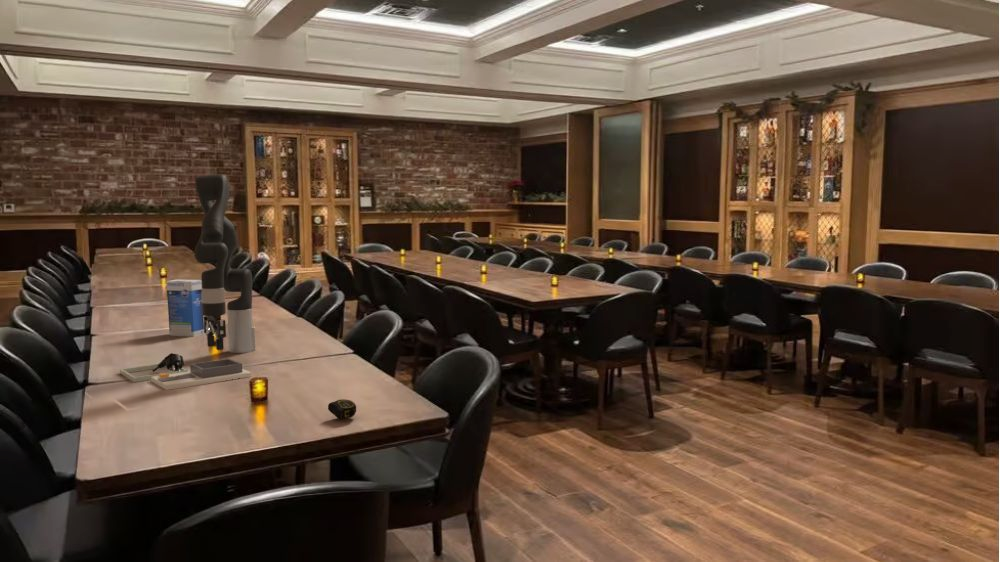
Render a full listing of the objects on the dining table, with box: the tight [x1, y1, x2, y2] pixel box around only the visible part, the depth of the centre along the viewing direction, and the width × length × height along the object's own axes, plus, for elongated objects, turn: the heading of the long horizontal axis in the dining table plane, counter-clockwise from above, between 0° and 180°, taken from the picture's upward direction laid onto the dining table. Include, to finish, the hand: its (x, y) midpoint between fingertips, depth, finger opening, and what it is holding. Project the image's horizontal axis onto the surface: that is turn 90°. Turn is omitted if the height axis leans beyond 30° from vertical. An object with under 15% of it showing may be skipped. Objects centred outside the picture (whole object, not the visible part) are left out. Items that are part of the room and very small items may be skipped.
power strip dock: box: [150, 358, 252, 391], centre depth 250 cm, size 28×16×4 cm, turn 131°
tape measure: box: [327, 398, 357, 420], centre depth 204 cm, size 7×7×4 cm
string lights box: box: [166, 279, 205, 338], centre depth 328 cm, size 13×8×26 cm, turn 74°
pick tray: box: [119, 363, 189, 383], centre depth 258 cm, size 18×18×2 cm
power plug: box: [152, 352, 185, 372], centre depth 258 cm, size 6×8×12 cm
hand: (215, 347), depth 252 cm, fingers open, 8 cm apart
